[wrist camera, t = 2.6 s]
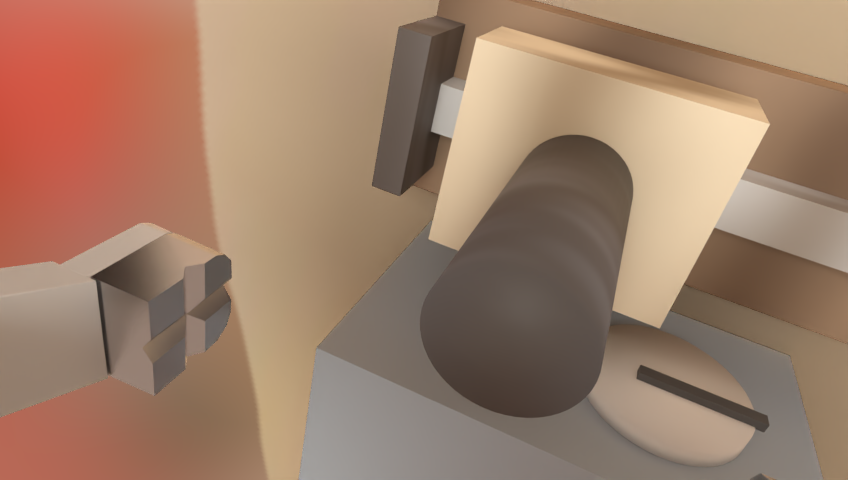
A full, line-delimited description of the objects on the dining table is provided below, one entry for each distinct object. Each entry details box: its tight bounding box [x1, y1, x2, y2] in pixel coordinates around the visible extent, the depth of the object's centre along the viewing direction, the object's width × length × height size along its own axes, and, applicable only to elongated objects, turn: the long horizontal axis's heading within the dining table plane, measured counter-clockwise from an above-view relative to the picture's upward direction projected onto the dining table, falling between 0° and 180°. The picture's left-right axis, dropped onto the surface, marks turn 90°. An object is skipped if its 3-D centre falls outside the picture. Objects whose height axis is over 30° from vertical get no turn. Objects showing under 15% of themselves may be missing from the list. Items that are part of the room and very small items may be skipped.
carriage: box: [420, 26, 770, 418], centre depth 14 cm, size 7×6×11 cm
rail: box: [372, 0, 848, 344], centre depth 16 cm, size 26×7×4 cm, turn 78°
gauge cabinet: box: [299, 221, 823, 480], centre depth 20 cm, size 14×9×9 cm, turn 78°
